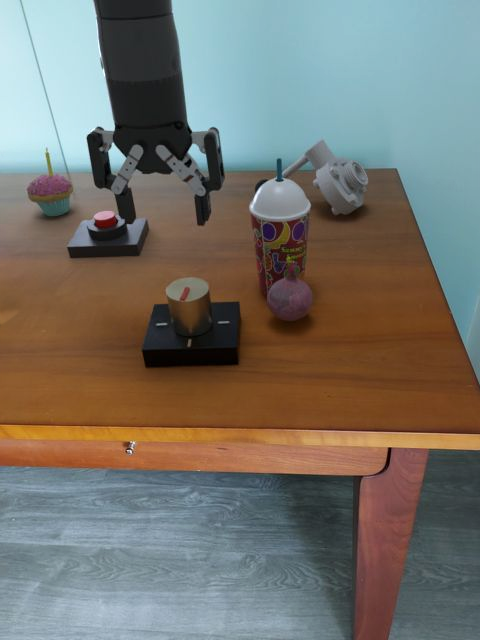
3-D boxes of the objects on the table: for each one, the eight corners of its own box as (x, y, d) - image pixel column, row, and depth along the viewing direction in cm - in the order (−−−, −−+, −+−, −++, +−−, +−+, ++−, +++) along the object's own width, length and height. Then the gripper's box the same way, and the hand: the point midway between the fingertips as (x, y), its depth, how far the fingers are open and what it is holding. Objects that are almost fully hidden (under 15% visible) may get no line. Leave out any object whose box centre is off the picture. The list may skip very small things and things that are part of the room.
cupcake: (56, 199, 110) (38, 141, 102) (88, 206, 107) (71, 146, 99) (25, 217, 104) (4, 156, 96) (58, 224, 101) (38, 161, 93)
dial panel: (145, 367, 68) (140, 348, 66) (157, 321, 75) (153, 302, 73) (238, 364, 67) (236, 345, 65) (240, 318, 75) (239, 300, 73)
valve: (304, 238, 112) (261, 179, 109) (381, 187, 100) (336, 119, 96) (287, 258, 105) (240, 195, 101) (368, 205, 92) (319, 132, 89)
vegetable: (317, 313, 75) (320, 251, 69) (303, 338, 71) (303, 275, 65) (278, 305, 77) (277, 244, 71) (261, 329, 73) (258, 266, 67)
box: (70, 258, 90) (63, 237, 88) (85, 231, 98) (79, 211, 96) (139, 255, 90) (135, 234, 88) (149, 228, 98) (145, 208, 95)
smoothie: (293, 311, 76) (293, 175, 63) (244, 297, 79) (234, 165, 66) (317, 282, 81) (322, 153, 69) (270, 270, 85) (266, 144, 72)
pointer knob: (178, 310, 72) (172, 274, 68) (217, 312, 71) (212, 276, 67) (167, 335, 68) (160, 297, 64) (208, 337, 67) (203, 300, 63)
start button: (93, 229, 90) (91, 220, 89) (98, 220, 93) (96, 211, 92) (114, 229, 90) (112, 219, 89) (119, 219, 93) (116, 210, 92)
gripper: (221, 59, 53) (231, 209, 64) (86, 60, 55) (117, 207, 65) (207, 77, 48) (221, 239, 58) (57, 77, 49) (96, 235, 59)
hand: (166, 222), depth 62 cm, fingers open, 8 cm apart
